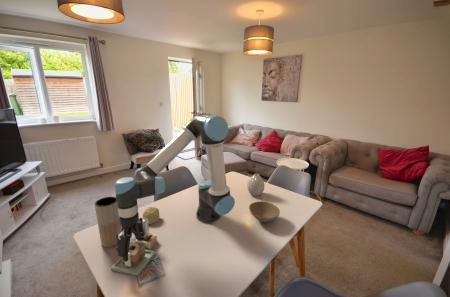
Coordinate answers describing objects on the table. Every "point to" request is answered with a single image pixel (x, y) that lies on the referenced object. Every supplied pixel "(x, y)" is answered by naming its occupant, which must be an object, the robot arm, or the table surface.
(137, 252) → the block
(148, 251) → the tray
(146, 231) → the cylinder
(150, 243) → the block
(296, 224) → the table surface
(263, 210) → the bowl
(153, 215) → the decorative item
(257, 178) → the vase
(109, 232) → the planter
